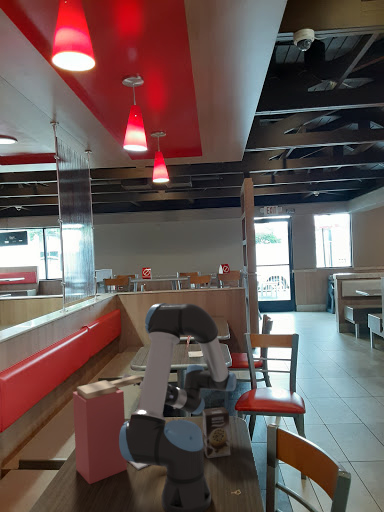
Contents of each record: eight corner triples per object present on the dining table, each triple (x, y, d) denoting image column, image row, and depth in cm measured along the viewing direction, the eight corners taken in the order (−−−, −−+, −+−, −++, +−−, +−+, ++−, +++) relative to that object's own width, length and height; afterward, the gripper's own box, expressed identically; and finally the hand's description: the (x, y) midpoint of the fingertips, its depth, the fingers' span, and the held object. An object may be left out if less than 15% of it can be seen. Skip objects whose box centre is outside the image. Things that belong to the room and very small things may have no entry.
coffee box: (207, 458, 147) (205, 415, 147) (203, 450, 153) (201, 408, 153) (231, 455, 149) (229, 412, 149) (226, 447, 155) (224, 406, 155)
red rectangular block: (112, 456, 152) (108, 383, 151) (126, 469, 142) (123, 391, 142) (76, 469, 143) (72, 392, 143) (89, 484, 134) (85, 401, 133)
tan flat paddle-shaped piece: (134, 378, 156) (133, 373, 156) (145, 383, 149) (145, 378, 149) (77, 392, 142) (76, 387, 142) (86, 399, 135) (86, 393, 135)
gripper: (187, 414, 151) (144, 399, 140) (153, 397, 171) (113, 382, 160) (194, 395, 153) (152, 378, 142) (160, 380, 173) (120, 364, 162)
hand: (131, 380), depth 151 cm, fingers open, 13 cm apart
